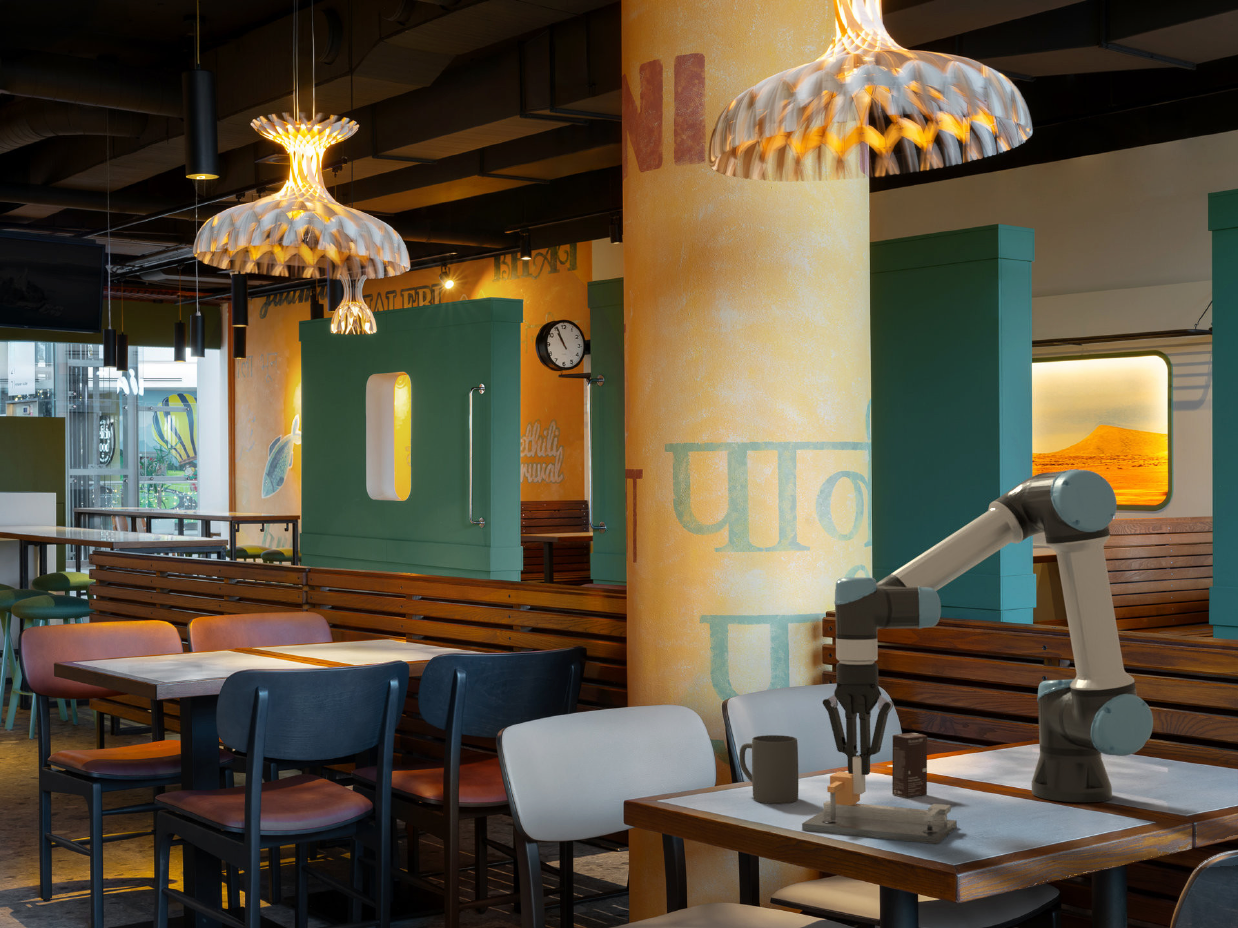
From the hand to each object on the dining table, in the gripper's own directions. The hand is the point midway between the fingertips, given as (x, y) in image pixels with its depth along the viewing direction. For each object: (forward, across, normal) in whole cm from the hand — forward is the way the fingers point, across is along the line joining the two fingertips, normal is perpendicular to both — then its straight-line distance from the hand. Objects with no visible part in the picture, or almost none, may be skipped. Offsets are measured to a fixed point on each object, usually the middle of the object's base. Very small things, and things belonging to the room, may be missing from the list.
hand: (859, 792), depth 232 cm
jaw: (+4, +3, +3) cm, 5 cm away
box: (+6, -2, -29) cm, 30 cm away
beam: (+4, -5, +3) cm, 7 cm away
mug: (+6, +24, -14) cm, 28 cm away
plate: (+6, -4, +3) cm, 8 cm away
